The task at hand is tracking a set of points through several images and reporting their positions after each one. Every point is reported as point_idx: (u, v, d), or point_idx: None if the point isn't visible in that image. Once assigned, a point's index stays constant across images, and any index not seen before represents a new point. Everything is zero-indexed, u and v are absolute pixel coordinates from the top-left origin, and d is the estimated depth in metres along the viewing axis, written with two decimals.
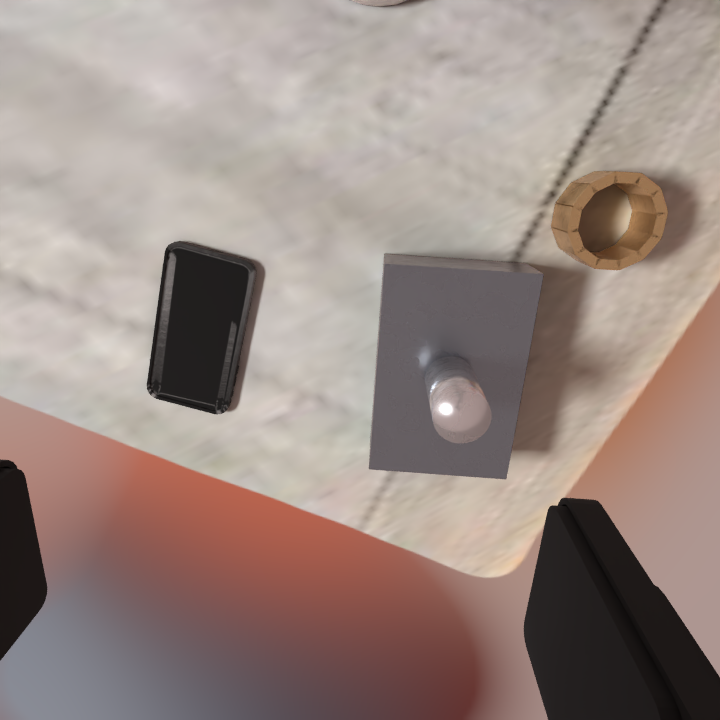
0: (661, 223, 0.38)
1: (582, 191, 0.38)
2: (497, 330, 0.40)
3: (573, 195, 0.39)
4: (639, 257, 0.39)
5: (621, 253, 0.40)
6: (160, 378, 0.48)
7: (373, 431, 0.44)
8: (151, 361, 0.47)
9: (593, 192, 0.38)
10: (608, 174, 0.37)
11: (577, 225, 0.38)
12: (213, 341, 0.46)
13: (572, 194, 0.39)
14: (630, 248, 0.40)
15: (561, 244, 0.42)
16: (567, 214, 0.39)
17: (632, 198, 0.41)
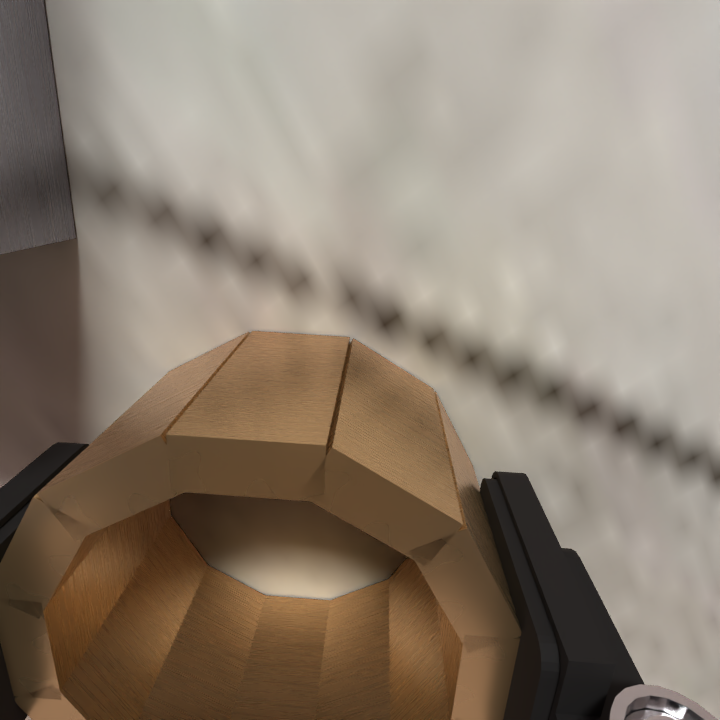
0: None
1: (418, 486, 0.06)
2: None
3: (390, 425, 0.07)
4: None
5: (130, 653, 0.09)
6: None
7: None
8: None
9: (413, 549, 0.06)
10: (507, 602, 0.07)
11: (213, 486, 0.06)
12: None
13: (394, 419, 0.07)
14: (160, 677, 0.09)
15: (161, 387, 0.09)
16: (283, 414, 0.06)
17: (372, 609, 0.11)
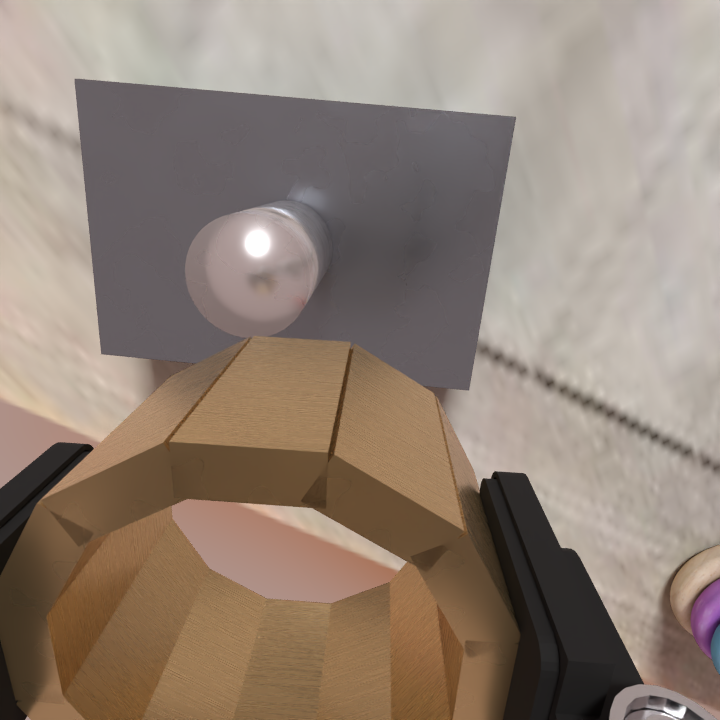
0: None
1: (420, 492, 0.06)
2: (378, 326, 0.24)
3: (392, 431, 0.07)
4: None
5: (132, 657, 0.09)
6: None
7: (164, 90, 0.21)
8: None
9: (414, 555, 0.06)
10: (508, 607, 0.07)
11: (215, 493, 0.06)
12: None
13: (395, 425, 0.07)
14: (162, 681, 0.09)
15: (163, 392, 0.09)
16: (285, 421, 0.06)
17: (373, 612, 0.11)
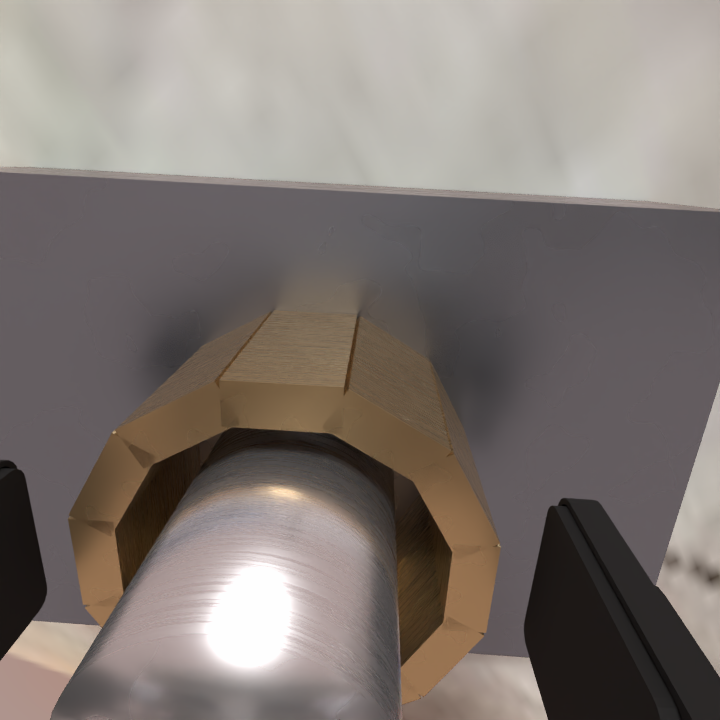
0: None
1: (416, 422, 0.08)
2: None
3: (393, 380, 0.09)
4: None
5: None
6: None
7: (55, 182, 0.10)
8: None
9: (412, 472, 0.08)
10: (487, 518, 0.08)
11: (254, 422, 0.08)
12: None
13: (396, 377, 0.09)
14: None
15: (199, 356, 0.10)
16: (308, 367, 0.08)
17: None
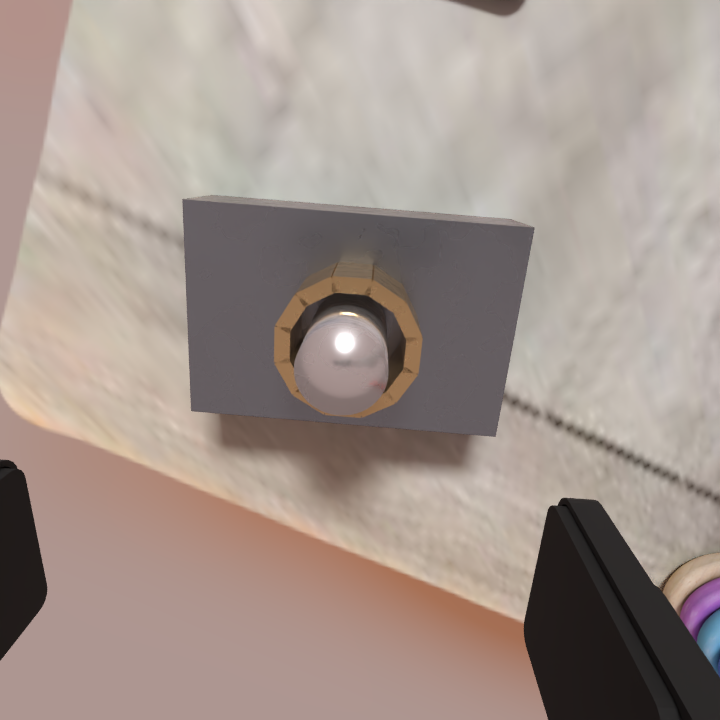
0: None
1: (394, 293, 0.24)
2: (422, 387, 0.29)
3: (387, 283, 0.25)
4: (295, 389, 0.25)
5: None
6: None
7: (255, 207, 0.26)
8: None
9: (393, 309, 0.24)
10: (418, 328, 0.24)
11: (342, 291, 0.24)
12: None
13: (388, 283, 0.25)
14: None
15: (311, 277, 0.26)
16: (359, 275, 0.24)
17: None
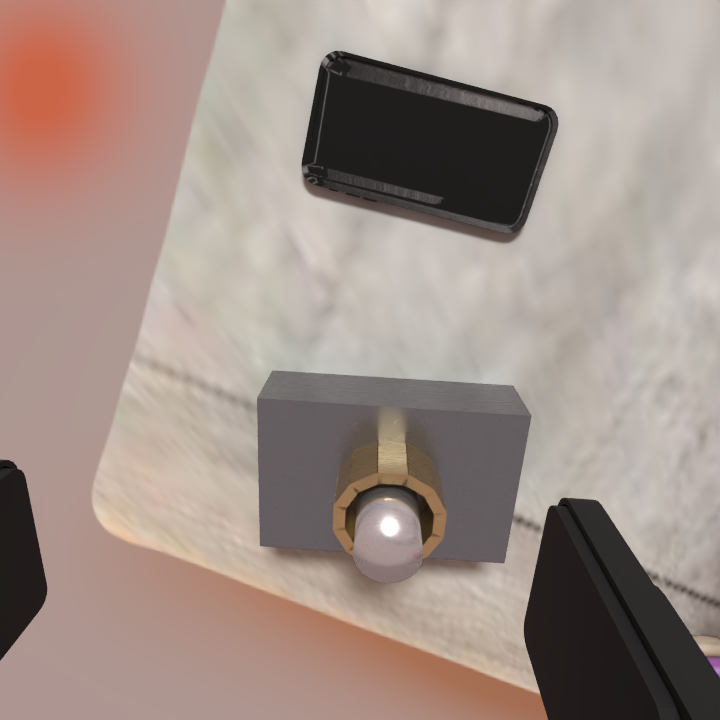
0: None
1: (425, 482, 0.31)
2: (445, 527, 0.37)
3: (418, 468, 0.32)
4: (348, 548, 0.33)
5: (351, 525, 0.34)
6: (353, 75, 0.31)
7: (313, 403, 0.34)
8: (381, 64, 0.31)
9: (424, 494, 0.31)
10: (443, 506, 0.32)
11: (385, 482, 0.31)
12: (414, 168, 0.33)
13: (419, 467, 0.33)
14: None
15: (358, 457, 0.34)
16: (397, 467, 0.32)
17: None
